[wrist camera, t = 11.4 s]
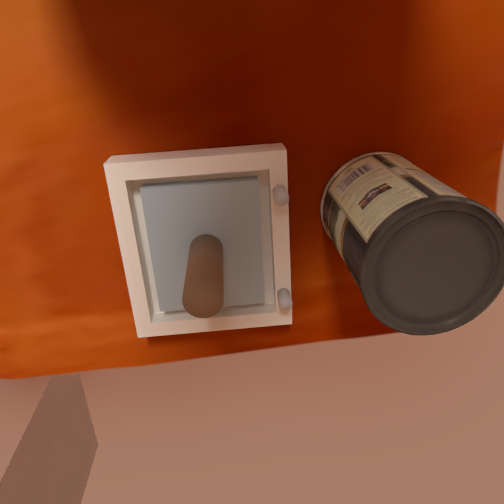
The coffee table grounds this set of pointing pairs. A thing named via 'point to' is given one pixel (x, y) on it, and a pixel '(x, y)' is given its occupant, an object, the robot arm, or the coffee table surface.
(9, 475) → the robot arm
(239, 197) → the grey panel with handle
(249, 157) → the frame
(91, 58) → the coffee table surface
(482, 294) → the coffee can
